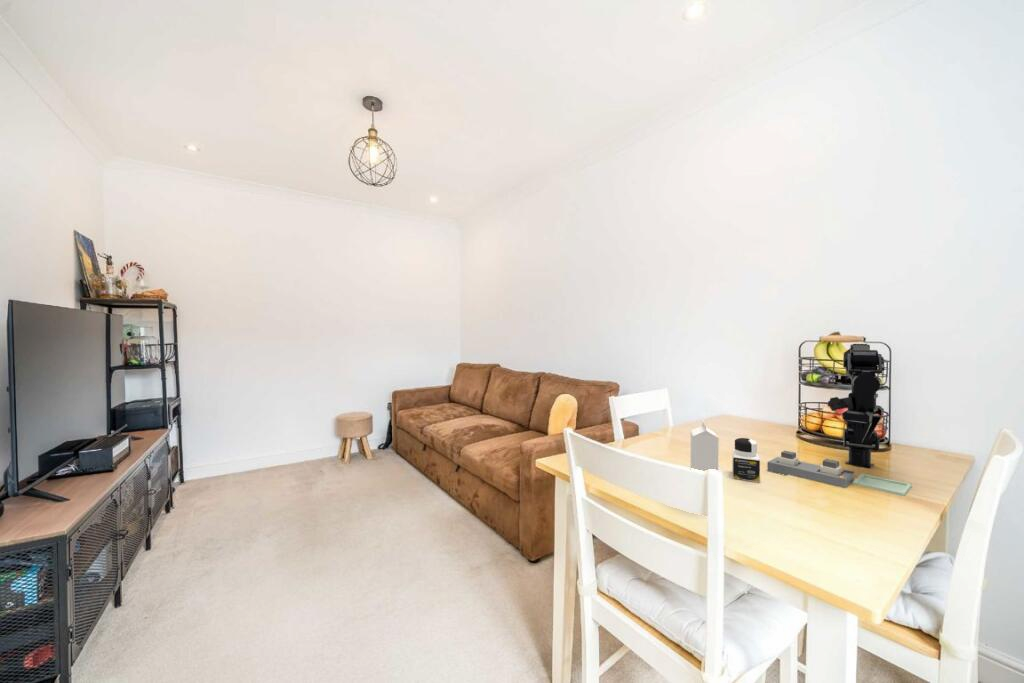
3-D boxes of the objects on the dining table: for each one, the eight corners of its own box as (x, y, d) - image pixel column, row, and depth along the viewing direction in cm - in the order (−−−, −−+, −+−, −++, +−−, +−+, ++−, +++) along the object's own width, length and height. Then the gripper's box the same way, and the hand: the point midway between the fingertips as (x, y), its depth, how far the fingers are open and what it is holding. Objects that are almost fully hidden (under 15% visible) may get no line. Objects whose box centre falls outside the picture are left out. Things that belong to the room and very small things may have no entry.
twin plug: (783, 468, 132) (783, 449, 132) (798, 472, 128) (798, 452, 128) (778, 471, 129) (778, 452, 129) (793, 475, 126) (793, 455, 126)
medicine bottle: (733, 478, 123) (733, 440, 123) (732, 471, 129) (732, 435, 129) (759, 482, 119) (760, 443, 119) (757, 475, 126) (758, 438, 126)
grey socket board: (778, 465, 135) (778, 455, 135) (854, 482, 119) (854, 471, 119) (767, 470, 130) (767, 460, 130) (845, 489, 113) (845, 478, 113)
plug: (824, 478, 123) (824, 458, 123) (841, 482, 119) (841, 461, 119) (820, 481, 120) (820, 460, 120) (837, 485, 117) (837, 464, 117)
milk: (693, 507, 103) (692, 424, 102) (690, 498, 109) (689, 419, 108) (719, 510, 101) (718, 425, 100) (714, 501, 107) (714, 420, 106)
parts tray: (862, 477, 123) (862, 473, 123) (911, 488, 114) (911, 484, 114) (852, 485, 117) (852, 481, 116) (904, 497, 108) (904, 493, 108)
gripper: (839, 385, 134) (839, 430, 134) (821, 390, 123) (821, 440, 123) (884, 388, 125) (883, 437, 125) (869, 394, 114) (868, 448, 114)
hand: (863, 440), depth 122 cm, fingers open, 9 cm apart
